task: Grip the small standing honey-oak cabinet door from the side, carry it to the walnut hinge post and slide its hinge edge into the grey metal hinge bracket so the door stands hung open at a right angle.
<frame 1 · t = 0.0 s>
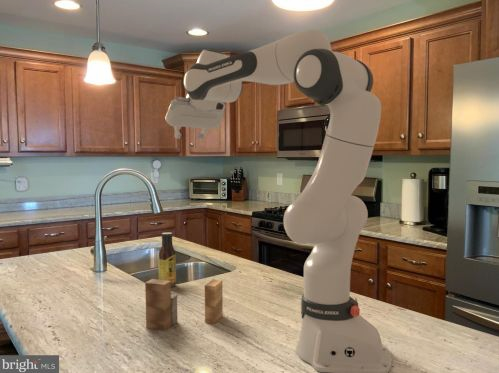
hand: (188, 138, 134), 54 cm above the countertop, tool tilted 30°, fingers open, 8 cm apart
hinge post: (158, 326, 113), on the countertop
sauce bottle: (167, 286, 148), on the countertop
oak door: (214, 318, 118), on the countertop
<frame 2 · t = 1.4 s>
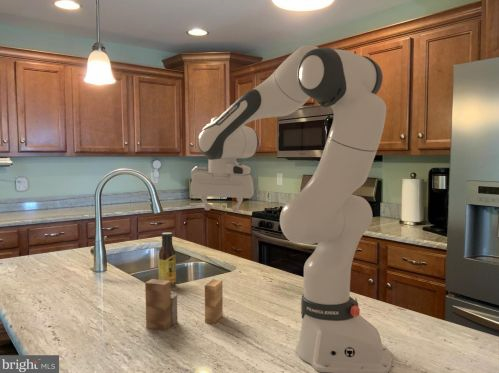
hand: (221, 210, 127), 31 cm above the countertop, tool pointing down, fingers open, 8 cm apart
nothing on the countertop moved.
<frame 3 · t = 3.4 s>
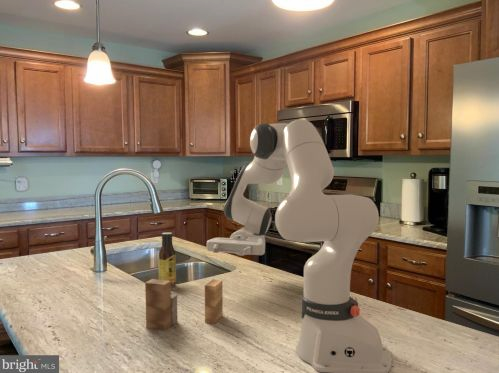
hand: (228, 251, 129), 17 cm above the countertop, tool horizontal, fingers open, 8 cm apart
nothing on the countertop moved.
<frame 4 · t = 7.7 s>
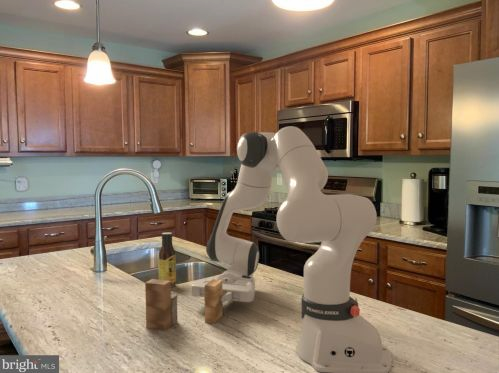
hand: (213, 299, 118), 6 cm above the countertop, tool horizontal, fingers closed on oak door, 3 cm apart
oak door: (214, 318, 118), on the countertop, touching gripper
everything else where it was.
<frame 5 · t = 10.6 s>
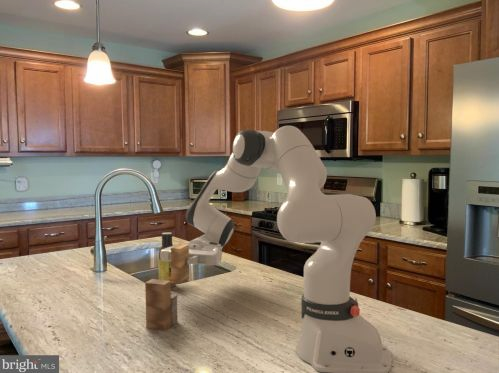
hand: (180, 261, 125), 15 cm above the countertop, tool horizontal, fingers closed on oak door, 3 cm apart
oak door: (180, 280, 126), point 9 cm above the countertop, touching gripper
everything else where it was.
when the fingers open (7 cm above the countertop, at t = 13.6 s): oak door drops 1 cm, on the countertop.
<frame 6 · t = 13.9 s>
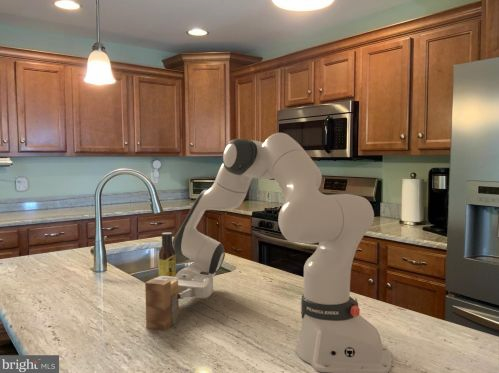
hand: (168, 295, 118), 7 cm above the countertop, tool horizontal, fingers open, 6 cm apart
oak door: (169, 318, 119), on the countertop
everything else where it was.
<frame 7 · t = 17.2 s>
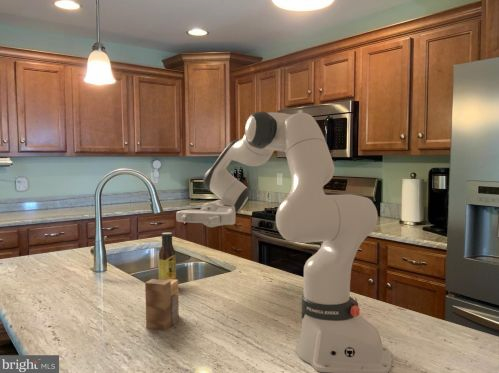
hand: (196, 220, 129), 28 cm above the countertop, tool horizontal, fingers open, 8 cm apart
nothing on the countertop moved.
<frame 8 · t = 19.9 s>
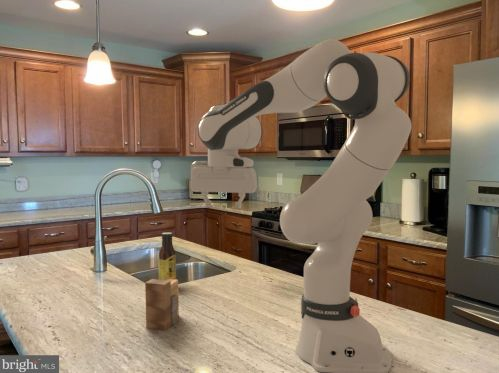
hand: (223, 207, 118), 33 cm above the countertop, tool pointing down, fingers open, 8 cm apart
nothing on the countertop moved.
at the end: oak door 0.2 cm from the target spot on the countertop beside the hinge post, on the countertop; oak door tilted 0°; the gripper is holding nothing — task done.
